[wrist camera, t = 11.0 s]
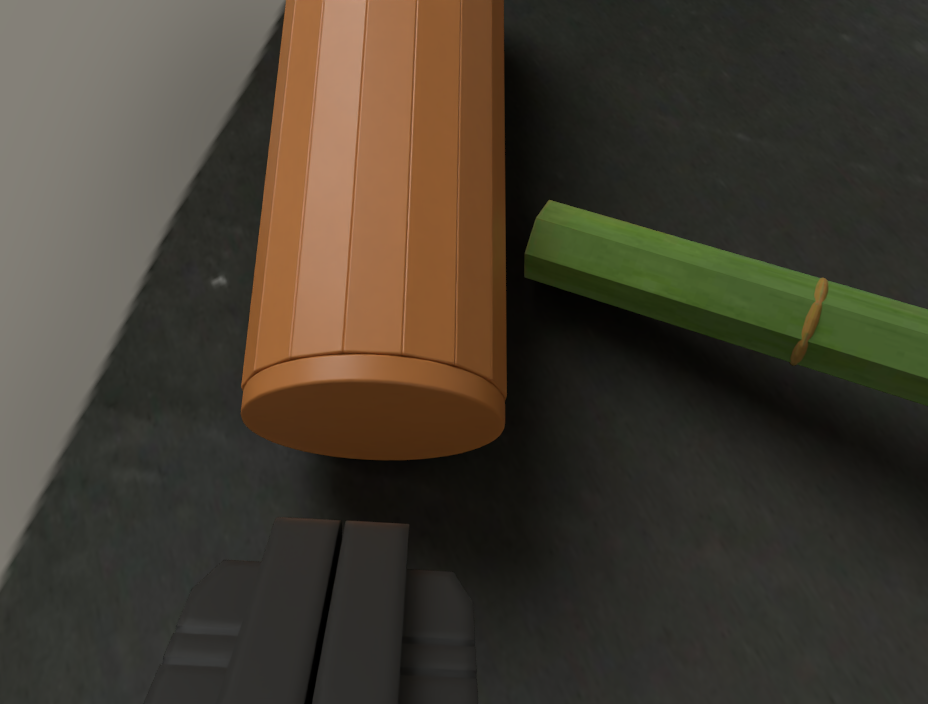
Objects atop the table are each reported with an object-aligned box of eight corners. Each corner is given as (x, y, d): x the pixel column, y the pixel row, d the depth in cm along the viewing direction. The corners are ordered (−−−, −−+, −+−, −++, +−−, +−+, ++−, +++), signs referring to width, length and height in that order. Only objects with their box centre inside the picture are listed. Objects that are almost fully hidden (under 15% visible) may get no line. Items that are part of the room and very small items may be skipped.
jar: (455, 368, 16) (465, -195, 21) (184, 397, 17) (259, -131, 23) (533, 451, 21) (524, -22, 26) (317, 467, 22) (352, 21, 28)
